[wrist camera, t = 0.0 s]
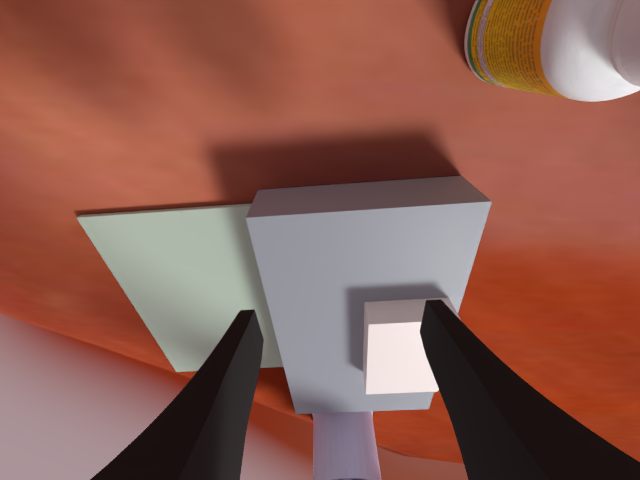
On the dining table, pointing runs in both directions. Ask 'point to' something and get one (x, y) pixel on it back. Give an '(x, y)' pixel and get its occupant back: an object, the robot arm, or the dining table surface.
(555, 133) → the dining table surface
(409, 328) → the pale pink block
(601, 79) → the supplement bottle
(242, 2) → the dining table surface
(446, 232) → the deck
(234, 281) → the mat
